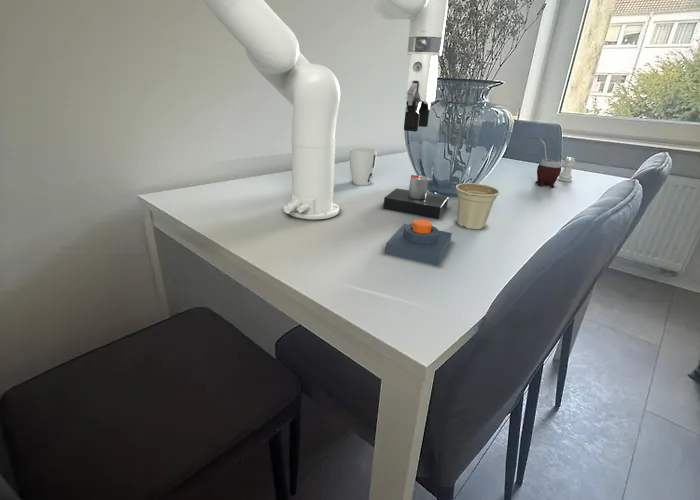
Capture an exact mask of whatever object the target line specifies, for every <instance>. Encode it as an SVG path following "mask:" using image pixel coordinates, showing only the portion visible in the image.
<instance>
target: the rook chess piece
mask: <svg viewBox="0 0 700 500" xmlns="http://www.w3.org/2000/svg"><path fill="white" fill-rule="evenodd" d="M575 159H576V158H575V157H571V156H566V158H565V159H564V161H565V163H564V166H563V169H562V170H561V172H560V175H559V176H558V178H557V180H558V181H559V182H565V183H570V182H571V181H572V178H573V174H572V171H573V167H574V163H575V162H576V160H575Z"/></svg>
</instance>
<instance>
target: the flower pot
mask: <svg viewBox="0 0 700 500" xmlns="http://www.w3.org/2000/svg"><path fill="white" fill-rule="evenodd" d="M455 190H456V195H457V219H456V223H457V225H459V226H460V227H464V228H466V229H469V230H481V229H483V228H485V227H486V224H487V221H488V219H489V216H490V213H491V210H492V207H493V205H494V201H496V199H497V197H498V196H499V195H500V193H501V191H500V189H498V188H496V187H494V186H491V185H487V184H482V183H473V182H464V183H458V184H456V185H455Z"/></svg>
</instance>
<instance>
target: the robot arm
mask: <svg viewBox="0 0 700 500" xmlns="http://www.w3.org/2000/svg"><path fill="white" fill-rule="evenodd" d="M203 2H204V3H205V5H206V7H207V8H208V10H209V11H210V12H211V13H212V14H213V16H214V17H215V18H216V19H217V20H218V22H220V23H221V24H222V26H223V27H224V28H225V29H226V30H227V31H228V33H230V34H231V35H232V36H233V37H234V39H236V41H237V42H238V43H239V44H240V45H241V46H242V47H243V48H244V49H245V53H246V56H247V58H248V60H249V62H250V63H251V65H252V66H253V67H254V68H255V69H256V71H257V72H258V73H260V74H261V76H262V77H263V78H264V79H265V80H266V81H267V82H268V83H269V84H270V85H271V86H272V87H273V88H274V89H276V91H277V92H278V93H279V94H280V95H281V96H282V97H284V98H285V100H287V101H288V102H289V103H290V104H291V105H293V108H292V120H291V122H292V123H291V178H292V179H291V194H292V195H291V200H290V201H288V203H286V204H285V205H284V206H283V207H282V208H283V212H284V213H286V214H288V215H289V216H291V217H294V218H297V219H302V220H313V221H314V220H326V219H331V218H333V217H336V216H337V215H338V214H339V213H340V206H339V205H338V204H337V203H335V202H334V184H335V183H334V182H335V160H336V159H335V158H336V157H335V156H336V133H337V132H336V131H337V120H338V114H339V109H340V102H341V101H340V100H341V89H340V88H341V87H340V84H339V83H340V82H339V80H338V78H337V76H336V75H335V74H334V72H333V71H332V70H331V69H330V68H329V67H327V66H325V65H322V64H320V63H319V64H318V63H311V62H310V61H309V60H308V59H307V58H306V57H305V56H304V55H303V54H302V53H301V51H300V44H299V40H298V38H297V35H296V34H295V33H294V31H293V30H292V29H291V28H290V27H289V25H287V24H286V23H285V22H284V21H283V20H282V18H280V16H278V14H277V13H276V12H275V11H274V10H273V9H272V8H271V6H270V5H269V4H268V3H266V1H265V0H203ZM372 4H373V8H374V10H375V12H376V14H378V15H379V16H380V17H382V18H383V19H385V20H390V21H395V20H410V22H409V31H408V42H407V53H406V55H408V56H410V57H409V63H408V72H407V77H406V78H407V80H406V89H405V90H406V91H405V101H406V106H405V113H404V123H403V130H404V131H405V132H418V131H419V127H420V128H421V127H423V128H427V127H428V126H429V118H430V111H431V110H430V109H431V103H434V102H435V100H436V93H437V81H438V67H439V63H438V62H439V57H441V56H442V53H443V46H444V45H443V44H444V38H445V31H446V30H445V29H446V21H447V14H448V6H449V0H373V1H372Z"/></svg>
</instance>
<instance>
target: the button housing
mask: <svg viewBox="0 0 700 500" xmlns="http://www.w3.org/2000/svg"><path fill="white" fill-rule="evenodd" d="M412 227H413V222H411V223H403V225H401V226H400V227H399V229H398V230H396V232H395V233H394V234H393V235H392V236H391V237H390V239H389V240H388V241H387V242H386V243H385V250H384V253H385V255H389V256H394V257H398V258H402V259H408V260H410V261H415V262H420V263H424V264H428V265H433V266H437V267H438V266H439V265H440V263H441V261H442V260H443V257H444V255H445V253H446V252H447V250H448V248H449V246H450V243H451V240H452V235H453V233H452V232H448V231H445V230H439V229H438V228H437V227H436V226H433V225H432V228H431V233H417V232H415V231H412Z"/></svg>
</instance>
